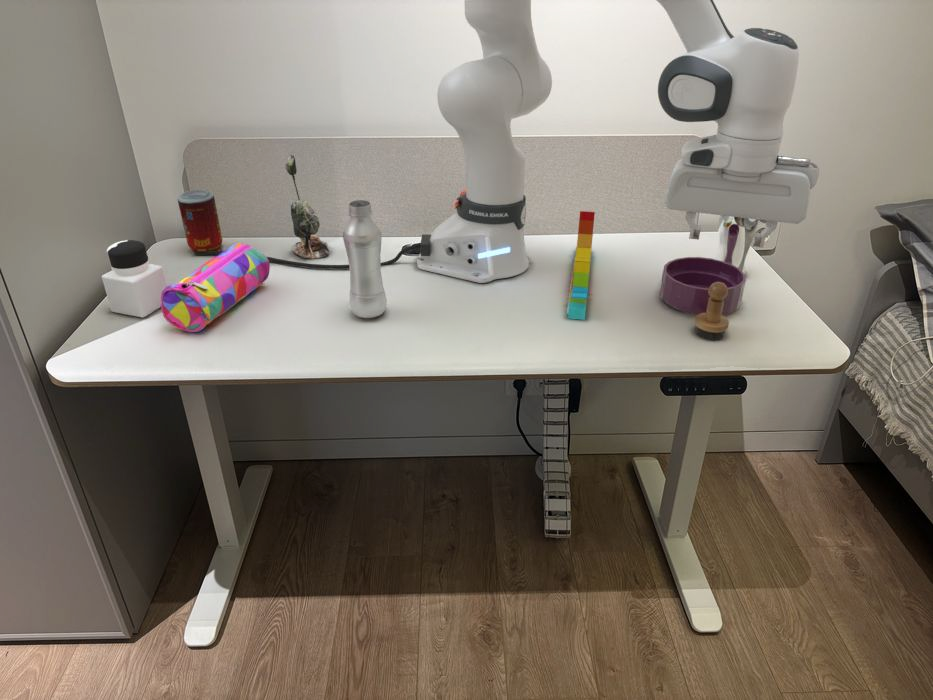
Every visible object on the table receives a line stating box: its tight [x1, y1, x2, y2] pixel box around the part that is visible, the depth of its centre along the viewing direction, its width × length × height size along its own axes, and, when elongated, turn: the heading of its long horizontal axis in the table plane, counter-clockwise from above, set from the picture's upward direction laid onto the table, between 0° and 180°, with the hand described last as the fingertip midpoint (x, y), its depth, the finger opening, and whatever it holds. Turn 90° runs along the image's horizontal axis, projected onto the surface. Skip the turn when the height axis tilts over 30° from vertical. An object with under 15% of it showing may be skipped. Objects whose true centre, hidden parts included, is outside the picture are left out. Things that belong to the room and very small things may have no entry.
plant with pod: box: [284, 154, 331, 260], centre depth 140 cm, size 8×11×20 cm
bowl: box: [659, 256, 747, 316], centre depth 125 cm, size 14×14×6 cm
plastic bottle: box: [342, 199, 388, 319], centre depth 117 cm, size 6×7×20 cm
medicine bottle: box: [101, 239, 168, 319], centre depth 122 cm, size 7×7×12 cm
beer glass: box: [715, 215, 760, 275], centre depth 133 cm, size 7×7×15 cm
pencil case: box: [160, 242, 271, 333], centre depth 122 cm, size 22×9×9 cm, turn 164°
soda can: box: [177, 189, 223, 256], centre depth 144 cm, size 7×7×12 cm
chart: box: [566, 210, 596, 321], centre depth 129 cm, size 30×3×15 cm, turn 169°
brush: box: [694, 282, 730, 341], centre depth 114 cm, size 5×5×9 cm
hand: (725, 241), depth 108 cm, fingers open, 8 cm apart
